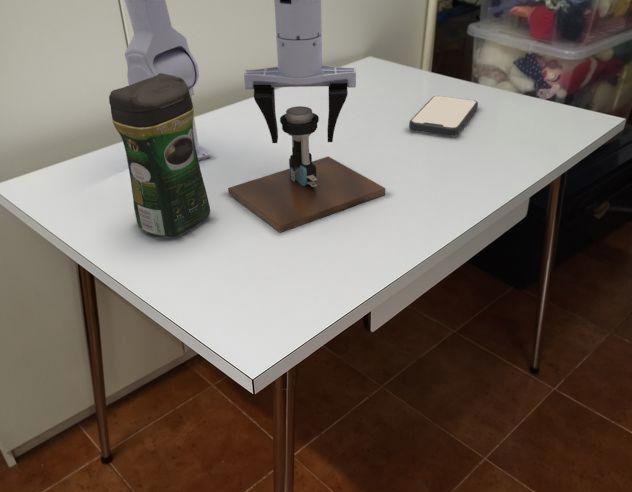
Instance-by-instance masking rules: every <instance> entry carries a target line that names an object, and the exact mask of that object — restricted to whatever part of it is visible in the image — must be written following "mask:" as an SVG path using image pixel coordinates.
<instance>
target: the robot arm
mask: <svg viewBox="0 0 632 492" xmlns="http://www.w3.org/2000/svg"><path fill="white" fill-rule="evenodd" d="M124 2H125V6H126V9H127V12H128V16H129V20H130V23H131V27H132V31H133V36H132V38H131V40H130V42H129V43H128V46H127V47H126V49H125V52H124V56H125V57H124V58H125V60H126V65H127V73H126V74H127V75H126V76H127V77H126V78H127V83H128V86H129V85H132V84H134V83H137V82H139V81H142V80H145V79H148V78H151V77H154V76H156V75H158V74H159V73H163V74H168V75H172V76H176V77H179V78H182V79H183V80H184V81H185V83H186V84H187V86H188V89H189V92H190V96H191V100H192V101H193V99H192V97H193V96H194V95H195V91H194V88H195V86H196V85H197V84H198V82H199V78H200V75H199V74H200V72H199V66H198V63H197V61H196V59H195V57H194V55H193V54H192V52H191V50H190V48H189V44H188V40H187V38H186V36H185V35H183V34H182V33H180V32H179V31H177V30H176V29H175V28H174V27H173V26H172V25H173V24H172V21H171V17H170V14H169V13H170V12H169V10H168V6H167V2H166V0H124ZM273 3H274V17H275V18H274V20H275V37H276V38H275V39H276V56H277V66H273V67H272V66H271V67H263V68H255V69H245V70H244V74H243V77H244V88H245V90H253V99H254V101H255V104H256V105H257V107H258V108H259V110H260V112H261V114H262V116H263V118H264V120H265V122H266V125H267V127H268V131H269V134H270V137H271V143H272V144H278V140H279V128H278V122H277V114H276V93H275V91H276V89H275V88H307V87H309V88H311V87H313V88H314V87H315V88H316V87H328V116H327V117H328V118H327V131H326V132H327V143H333V142H334V135H335V134H334V133H335V129H336V125H337V121H338V119H339V116H340V114H341V111H342V109H343V106H344V104H345V102H346V100H347V97H348V93H349V92H348V88H356V87H357V70H356V67H344V66H343V67H342V66H330V65H323V49H322V48H323V47H322V46H323V45H322V44H323V43H322V40H323V38H322V36H323V35H322V0H273ZM193 136H194V142H195V148H196V152H197V156H198V161H201V160H203V159H207V158H210V153H209V152H208V151H206V150H205V149H203V148H202V147H201V146H199V139H198V133H197V125H196V118H195V115H194V116H193Z"/></svg>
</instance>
